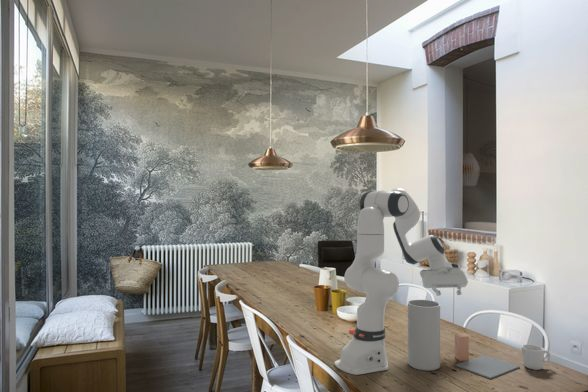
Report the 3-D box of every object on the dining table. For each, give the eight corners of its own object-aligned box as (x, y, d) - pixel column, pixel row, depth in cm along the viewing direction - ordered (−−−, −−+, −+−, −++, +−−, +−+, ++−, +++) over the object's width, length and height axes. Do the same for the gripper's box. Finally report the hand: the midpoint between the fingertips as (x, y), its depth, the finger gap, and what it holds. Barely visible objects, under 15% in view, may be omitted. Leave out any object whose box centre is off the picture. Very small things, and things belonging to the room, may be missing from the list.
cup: (543, 363, 174) (543, 344, 174) (556, 371, 166) (556, 350, 166) (517, 363, 173) (517, 344, 174) (529, 371, 165) (529, 351, 166)
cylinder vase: (415, 357, 180) (415, 298, 181) (444, 364, 173) (444, 302, 173) (402, 366, 171) (402, 303, 171) (433, 374, 163) (433, 308, 163)
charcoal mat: (490, 379, 158) (490, 377, 158) (455, 366, 171) (455, 364, 171) (519, 367, 169) (519, 366, 169) (484, 356, 182) (484, 354, 182)
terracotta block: (459, 360, 177) (459, 336, 177) (455, 357, 181) (454, 333, 181) (468, 360, 177) (468, 336, 177) (464, 357, 181) (464, 333, 181)
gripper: (420, 265, 198) (428, 291, 189) (463, 264, 199) (473, 290, 190) (417, 273, 203) (424, 299, 193) (459, 272, 204) (468, 297, 194)
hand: (449, 294), depth 191 cm, fingers open, 8 cm apart
